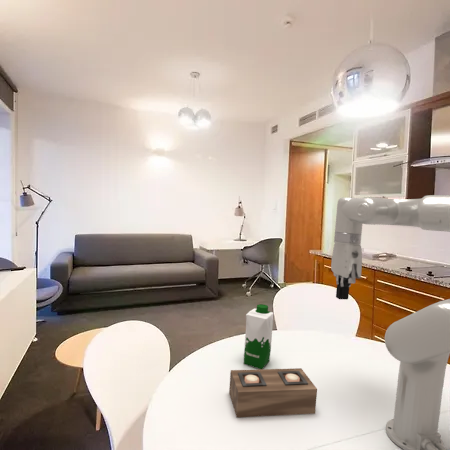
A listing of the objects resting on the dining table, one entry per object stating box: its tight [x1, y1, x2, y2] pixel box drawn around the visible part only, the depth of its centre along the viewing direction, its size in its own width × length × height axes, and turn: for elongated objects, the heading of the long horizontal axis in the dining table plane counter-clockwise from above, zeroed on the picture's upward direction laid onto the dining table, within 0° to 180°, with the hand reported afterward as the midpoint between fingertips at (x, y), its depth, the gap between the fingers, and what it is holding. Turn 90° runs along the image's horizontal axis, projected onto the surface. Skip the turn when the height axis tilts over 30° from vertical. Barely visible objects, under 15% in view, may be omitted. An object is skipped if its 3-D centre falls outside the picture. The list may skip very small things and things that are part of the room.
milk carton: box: [243, 303, 275, 369], centre depth 116 cm, size 9×9×20 cm
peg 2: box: [285, 374, 300, 382], centre depth 95 cm, size 4×4×7 cm
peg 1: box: [245, 375, 259, 383], centre depth 93 cm, size 4×4×7 cm
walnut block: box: [228, 367, 318, 418], centre depth 94 cm, size 11×22×7 cm, turn 100°
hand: (341, 298), depth 100 cm, fingers closed
